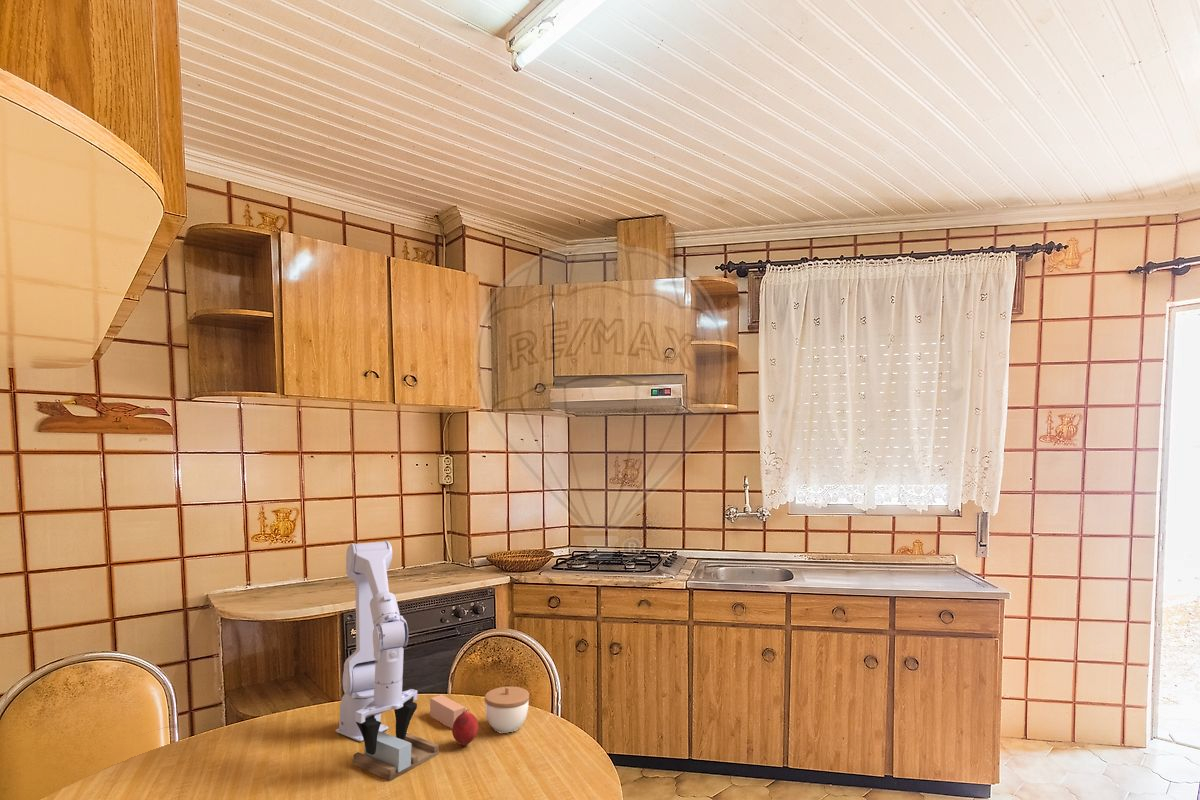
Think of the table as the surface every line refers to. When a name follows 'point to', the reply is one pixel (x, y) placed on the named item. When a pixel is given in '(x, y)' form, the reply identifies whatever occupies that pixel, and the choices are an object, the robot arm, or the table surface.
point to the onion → (465, 728)
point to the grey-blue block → (392, 751)
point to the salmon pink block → (445, 710)
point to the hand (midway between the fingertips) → (386, 745)
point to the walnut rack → (419, 755)
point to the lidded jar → (506, 708)
